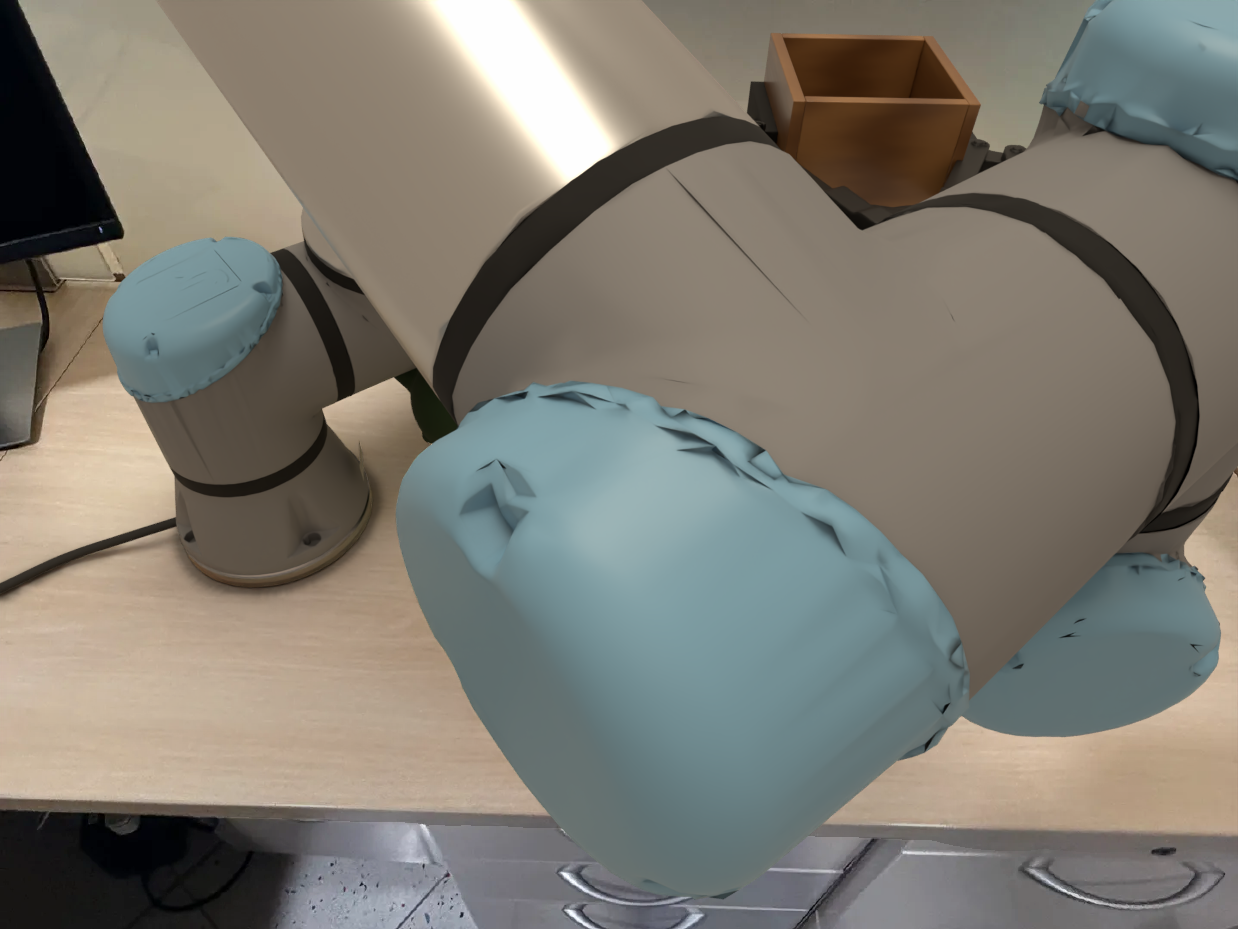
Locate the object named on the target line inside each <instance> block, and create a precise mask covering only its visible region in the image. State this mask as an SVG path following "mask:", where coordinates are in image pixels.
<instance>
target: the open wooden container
mask: <svg viewBox="0 0 1238 929" xmlns="http://www.w3.org/2000/svg"><path fill="white" fill-rule="evenodd" d="M765 63H766V65H765V72H764V79H763V82H764V85H765V88H766V91H767V95H768V98H769V102H770V105H771V109H772V112H773V116H774V119H775V123H776V126H777V129H778V136H777V143H776V145H777V146H778V147H779V148H780V149H781V150H782V151H784V152H786V153H788V154H790V155H791V156H792V158H793V159H794V160H795V161H796V162H797V163H799V164H800V165H801V166H803V167H804V168H806V169H807V170H808V171H810V172H811V173H812V174H814V175H815V176H816V177H818V178H819V179H820V180H822V181H823V182H825V183H826V184H827V185H829V186H830V187H831V188H837V187H840V186H845V187H847V188H849V189H850V190H851V191H853V192H854V193H855V194H857V195H858V196H860V197H861V198H862V199H864V200H865V201H867V202H868V203H869V204H871V205H881V206H888V207H898V206H906V205H914V204H918V203H920V202H922V201H924V200H926V199H928V198H930V197H932V196H934V195H936V194H938V193H939V192H940V190H941V188H942V187H944V185H945V183H946V181H947V179H948V177H949V175H950V173H951V171H952V169H953V167H954V165H955V163H956V161H957V160H963V159H964V156H965V153H966V150H967V146H968V143H969V140H970V137H971V134H972V132H974V127H975V125H976V122H977V118H978V116H979V112H980V109H981V107H982V103H981V102H980V100H979V99H978V98H977V96H976V95H975V94H974V92H973V90H972V89H971V88H970V86H969V85H968V84H967V82H966V81H965V79H964V78H963V77H962V75H961V74H960V72H959V71H958V70H957V67H955V65H954V63H953V62H952V61H951V60H950V58H949V56H948V55H947V53H946V52H945V51H944V50H943V48H942V47H941V45H940V44H939V42H938V41H937V40H936V38H935V37H934V35H899V34H898V35H896V34H895V35H894V34H893V35H892V34H843V33H842V34H841V33H831V34H830V33H793V32H791V33H787V32H785V33H783V32H782V33H781V32H771V33H770V36H769V42H768V50H767V56H766V62H765Z"/></svg>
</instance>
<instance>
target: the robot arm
mask: <svg viewBox="0 0 1238 929" xmlns="http://www.w3.org/2000/svg"><path fill="white" fill-rule="evenodd" d="M155 2H156V3H157V4H158V6H159V7H160V9H161V10H162V11H163V13H164V14H165V15H166V17H167V18H168V20H169V21H170V23H171V24H172V26H173V27H174V28H175V29H176V31H177V32H178V34H179V35H180V37H181V38H182V39H183V41H184V42H185V44H186V45H187V47H188V48H189V49H190V51H191V52H192V53H193V55H194V56H195V57H196V59H197V61H198V62H199V63H200V65H201V66H202V68H203V69H204V71H205V72H206V73H207V74H208V76H209V78H210V79H211V80H212V81H213V83H214V84H215V86H216V87H217V89H218V91H220V93H221V95H223V97H224V99H226V101H227V103H228V104H229V106H230V107H231V108H232V110H233V111H234V113H235V114H236V115H237V117H238V119H239V120H240V121H241V122H242V124H243V125H244V126H245V128H246V129H247V131H248V132H249V134H250V135H251V136H252V138H253V140H254V141H255V142H256V144H257V145H258V146H259V148H260V149H261V151H262V152H263V154H265V156H266V157H267V159H268V160H269V162H270V164H272V166H273V167H274V169H275V171H277V174H279V176H280V177H281V179H282V180H283V181H284V183H285V184H286V186H287V187H288V189H289V190H290V192H291V193H292V194H293V195H294V197H295V199H296V200H297V201H298V202H299V204H300V205H301V207H302V209H301V215H300V224H301V225H300V226H301V232H302V239H303V241H300V242H297V243H294V244H292V245H289V246H285V247H283V248H280V249H278V250H275V251H272V252H269V250H267V249H266V248H265V247H264V246H263V245H261V244H259V243H258V242H256V241H253V240H251V239H248V238H244V237H237V236H224V237H223V238H222V239H220V240H216V239H215V238H214V237H205V238H199V239H195V240H190V241H187V242H184V243H181V244H177V245H176V246H173V247H170V248H168V249H166V250H163V251H162V252H160V253H158V254H156V255H153V256H151V258H149V259H147V260H145V261H144V262H142V263H141V264H140V265H138V266H137V267H136V268H134V269H133V270H132V271H131V272H130V273H129V274H127V276H126V277H125V278H124V279H123V280H121V281H120V283H119V284H118V286H117V289H116V291H115V292H113V294H111V296H110V297H109V299H108V301H107V302H106V305H105V308H104V311H103V317H102V333H103V338H104V342H105V344H106V346H107V348H108V350H109V354H110V355H111V357H112V359H113V361H114V362H113V363H114V364H115V366H116V373H117V377H118V380H119V382H120V384H121V386H122V387H123V389H124V390H125V391H126V393H127V394H128V395H129V396H130V397H133V399H134V401H135V402H136V404H137V407H138V408H139V410H140V413H141V415H142V416H143V418H144V421H145V422H146V424H147V426H148V428H149V430H150V432H151V435H152V436H153V438H154V440H155V441H156V444H157V446H158V448H159V450H160V452H161V454H162V456H163V458H164V459H165V461H166V463H167V465H168V467H169V469H170V471H171V473H172V475H173V477H174V502H175V503H174V505H175V516H174V517H171V518H168V519H165V520H161V521H158V522H155V523H152V524H149V525H146V526H142V527H139V528H137V529H136V528H135V529H133V530H130V531H127V532H123V533H120V534H118V535H115V536H111V537H108V538H105V539H102V540H99V541H95V542H93V543H89V544H87V545H83V546H80V547H77V548H74V549H72V550H70V551H68V552H64V553H62V554H60V555H57V556H54V557H53V558H49V559H48V560H46V561H43V562H40V563H39V564H37V565H34V566H33V567H31V568H28V569H26V570H24V571H23V572H20V573H18V574H16V575H14V576H12V577H10V578H8V579H5V580H4V581H1V582H0V595H1V594H4V593H5V592H8V591H10V590H12V589H14V588H16V587H18V586H20V585H22V584H24V583H26V582H28V581H30V580H33V579H34V578H36V577H39V576H41V575H42V574H45V573H46V572H49V571H51V570H53V569H56V568H58V567H60V566H62V565H65V564H67V563H70V562H72V561H75V560H77V559H80V558H83V557H86V556H89V555H92V554H94V553H98V552H101V551H104V550H107V549H110V548H115V547H117V546H120V545H124V544H126V543H129V542H133V541H136V540H139V539H142V538H145V537H147V536H152V535H154V534H155V535H156V534H158V533H161V532H165V531H167V530H170V529H173V528H176V530H177V534H178V539H179V541H180V544H181V545H182V547H183V550H184V551H185V553H186V554H187V556H188V558H189V560H190V561H191V562H192V564H193V565H194V566H195V567H196V568H197V570H199V571H200V572H201V573H203V574H204V575H206V576H207V577H209V578H211V579H213V580H215V581H218V582H220V583H224V584H227V585H231V586H237V587H244V588H245V587H246V588H262V587H263V588H264V587H272V586H277V585H283V584H287V583H291V582H294V581H297V580H300V579H303V578H306V577H309V576H310V575H312V574H315V573H318V572H319V571H321V570H322V569H324V568H326V567H327V566H329V565H331V564H332V563H334V562H335V561H336V560H338V559H339V558H340V557H342V556H343V555H344V554H345V553H346V552H347V551H348V550H349V549H351V547H352V546H353V545H354V544H355V543H356V542H357V541H358V539H359V538H360V537H361V535H362V534H363V532H364V530H365V528H366V527H367V524H368V522H369V519H370V517H371V513H372V510H373V508H372V507H373V492H372V488H371V485H370V482H369V481H370V480H369V477H368V474H367V472H366V469H365V468H364V452H363V448H362V445H361V444H362V443H361V441H360V440H358V453H359V455H358V456H356V455H355V453H354V452H353V451H351V450H350V449H349V448H348V447H347V445H346V444H345V443H344V442H343V440H342V439H341V438H340V437H339V436H338V434H337V433H336V432H335V430H333V429H332V427H331V426H329V424H328V423H327V420H326V419H327V418H326V417H325V413H324V411H323V409H326V408H327V407H329V406H331V405H334V404H336V403H338V402H340V401H342V400H345V399H347V398H349V397H352V396H354V395H356V394H359V393H360V392H363V391H365V390H367V389H370V388H373V387H375V386H376V385H379V384H382V383H384V382H387V381H388V380H392V379H395V378H394V377H396V376H398V375H401V374H403V373H405V372H408V371H410V370H413V369H415V368H417V369H418V370H419V372H420V373H421V374H422V376H423V377H424V379H425V380H426V381H427V383H428V384H429V386H430V387H431V388H432V390H433V391H434V393H435V394H436V396H437V397H438V398H439V400H440V401H441V403H442V404H443V405H444V407H445V408H446V410H447V411H448V413H449V414H450V416H451V417H452V418H453V420H454V421H455V423H456V424H457V426H458V428H457V430H455V431H453V432H451V433H450V434H448V435H446V436H444V437H442V438H440V439H439V440H437V441H435V442H434V443H430V445H428V446H427V447H426V448H425V449H424V450H423V451H422V452H420V453H419V454H418V455H417V456H416V457H415V459H414V460H413V461H412V463H411V464H410V466H409V467H408V469H407V471H406V472H405V474H404V475H403V477H402V480H401V482H400V486H399V490H398V493H397V494H398V495H397V500H396V505H395V526H396V533H397V540H398V545H399V549H400V553H401V557H402V561H403V563H404V566H405V570H406V574H407V576H408V579H409V582H410V585H411V587H412V590H413V593H414V595H415V598H416V600H417V602H418V605H419V608H420V610H421V612H422V614H423V616H424V618H425V620H426V623H427V625H428V627H429V630H430V631H431V634H432V635H433V637H434V639H435V640H436V641H437V643H438V644H439V646H440V647H441V649H443V651H444V653H445V654H446V656H447V657H448V660H449V661H450V663H451V664H452V667H453V669H454V671H455V673H456V675H457V677H458V679H459V682H460V685H461V689H462V690H463V692H464V694H465V696H466V698H467V699H468V702H469V703H470V706H471V707H472V710H473V711H474V712H475V714H476V715H477V717H478V718H479V720H480V722H481V723H482V725H483V727H484V728H485V729H486V731H487V732H488V734H489V735H490V737H491V739H492V740H493V742H494V743H495V744H496V746H497V747H498V749H499V750H500V752H501V753H502V755H503V756H504V757H505V759H506V760H507V762H508V763H509V764H510V766H511V768H512V769H513V771H514V772H515V774H516V775H517V777H518V778H519V779H520V781H521V782H522V783H523V784H524V785H525V787H526V788H527V789H528V790H529V792H530V793H531V794H532V796H533V797H534V798H535V799H536V800H537V802H538V803H539V805H540V806H541V807H542V808H543V809H544V810H545V811H546V813H547V814H548V815H549V816H550V817H551V818H552V820H553V821H554V822H555V823H556V824H557V826H559V828H561V830H562V831H563V832H564V833H565V834H566V835H567V836H568V838H570V840H572V841H573V842H574V843H575V844H576V845H577V846H578V847H579V848H580V849H581V850H582V851H583V852H584V853H586V854H587V855H588V856H589V857H591V858H592V859H593V860H594V861H595V862H597V863H598V864H599V865H600V866H602V868H604V869H605V870H607V871H608V872H609V873H610V874H612V875H613V876H616V877H617V878H619V879H620V880H623V881H624V882H626V883H628V884H630V885H631V886H633V887H635V888H638V889H640V890H641V891H645V892H648V893H650V894H653V895H660V896H666V897H667V896H669V897H679V898H691V899H693V901H696V900H697V901H698V900H702V899H707V898H710V899H717V900H726V899H727V898H728V897H730V896H732V895H734V894H735V893H736V892H738V891H740V890H741V889H743V888H745V887H746V886H749V885H750V884H751V883H753V882H754V881H756V880H757V879H758V878H760V877H762V876H763V875H764V874H765V873H766V872H767V871H769V870H770V869H771V868H772V867H774V866H775V865H776V864H777V863H778V862H779V861H781V860H782V859H783V858H784V857H785V856H786V855H788V854H789V853H791V851H792V850H794V849H795V848H796V847H797V846H798V845H799V844H800V843H802V842H803V841H804V840H805V839H806V838H808V837H809V836H810V835H811V834H812V833H814V832H815V831H816V830H818V828H820V827H821V826H822V825H824V823H825V822H826V821H828V820H829V819H830V818H831V817H833V816H834V815H835V814H836V813H837V812H838V811H840V810H841V809H842V808H843V807H844V806H846V805H847V804H848V803H849V802H851V800H854V798H855V797H856V796H857V795H859V794H860V793H861V792H862V791H864V789H866V788H867V787H868V786H869V785H870V784H872V783H873V782H875V780H876V779H877V778H879V777H880V776H881V775H883V773H884V772H886V771H887V770H888V769H889V768H891V767H892V766H893V765H894V764H895V763H896V762H899V761H903V760H908V759H911V758H915V757H918V756H920V755H923V754H925V753H927V752H928V751H930V750H932V749H933V748H934V747H936V746H938V745H939V743H940V742H941V741H942V738H943V737H944V735H945V734H946V732H947V731H948V729H949V728H950V727H952V726H954V724H955V723H956V722H957V721H958V720H959V719H960V718H961V717H962V718H963V719H965V720H967V721H969V722H971V724H974V725H976V726H979V727H981V728H983V729H986V730H989V731H993V732H996V733H999V734H1005V735H1009V736H1014V737H1027V738H1028V737H1029V738H1071V737H1080V736H1086V735H1091V734H1092V735H1093V734H1096V733H1101V732H1106V731H1110V730H1111V731H1112V730H1114V729H1119V728H1123V727H1126V726H1130V725H1132V724H1136V723H1138V722H1141V721H1144V720H1147V719H1149V718H1151V717H1154V716H1157V715H1159V714H1160V713H1163V712H1164V711H1166V710H1168V709H1170V708H1172V707H1174V706H1175V705H1177V704H1179V703H1181V702H1183V701H1184V700H1186V699H1187V698H1188V697H1190V696H1191V695H1193V693H1195V692H1196V691H1197V690H1198V689H1200V688H1201V687H1202V686H1203V685H1204V684H1205V683H1206V682H1207V681H1208V679H1210V677H1211V675H1212V674H1213V672H1214V671H1215V669H1216V668H1217V667H1218V664H1219V659H1220V658H1219V657H1220V654H1219V651H1220V646H1221V638H1222V629H1221V622H1220V621H1219V619H1218V617H1217V615H1216V613H1215V610H1214V608H1213V606H1212V604H1211V602H1210V600H1209V598H1208V596H1207V594H1206V589H1207V585H1206V583H1205V582H1204V581H1205V580H1206V577H1205V576H1204V575H1203V574H1202V573H1201V572H1200V571H1199V568H1198V566H1196V565H1192V564H1191V563H1190V562H1189V561H1188V559H1187V557H1186V555H1185V545H1186V542H1187V541H1188V539H1189V538H1190V537H1191V535H1192V534H1194V532H1195V530H1196V529H1198V527H1199V526H1200V525H1201V524H1202V522H1203V521H1204V520H1205V518H1206V517H1207V516H1208V514H1210V513H1211V511H1212V510H1213V509H1214V507H1215V505H1216V504H1217V502H1218V500H1219V498H1220V496H1221V495H1222V493H1223V492H1224V491H1225V489H1226V487H1227V486H1228V484H1229V483H1230V481H1231V478H1232V477H1233V474H1234V472H1235V471H1236V469H1237V468H1238V0H1094V2H1093V3H1092V4H1091V5H1090V6H1089V7H1088V8H1087V10H1086V12H1085V13H1084V16H1083V18H1082V21H1081V23H1080V25H1079V28H1078V30H1077V32H1076V33H1075V36H1074V38H1073V40H1072V42H1071V44H1070V47H1069V49H1068V50H1067V51H1066V52H1067V53H1066V54H1065V56H1064V59H1063V61H1062V63H1061V64H1060V67H1059V69H1058V71H1057V73H1056V75H1055V76H1054V79H1052V80H1051V81H1049V82H1048V83H1047V84H1046V85H1045V87H1044V89H1043V92H1042V95H1041V98H1040V100H1039V101H1038V104H1039V105H1043V107H1042V110H1041V114H1040V117H1039V121H1038V124H1037V126H1036V129H1035V132H1034V135H1033V138H1032V139H1031V141H1030V143H1029V145H1028V146H1027V147H1025V146H1023V145H1020V144H1007V145H1005V147H1004V149H1003V151H1002V152H1001V151H996V150H991V149H990V147H991V144H990V143H989V142H988V141H986V140H983V139H981V138H977V136H976V135H975V133H974V131H972V134H971V137H970V140H969V143H968V146H967V150H966V153H965V156H964V159H963V160H957V161H956V163H955V165H954V167H953V169H952V171H951V173H950V175H949V177H948V179H947V181H946V183H945V185H944V187H942V188H941V190H940V192H939V193H938V194H936V195H934V196H932V197H930V198H928V199H926V200H924V201H922V202H920V203H918V204H914V205H906V206H898V207H888V206H881V205H871V204H869V203H868V202H867V201H865V200H864V199H862V198H861V197H860V196H858V195H857V194H855V193H854V192H853V191H851V190H850V189H849V188H847V187H845V186H840V187H837V188H831V187H830V186H829V185H827V184H826V183H825V182H823V181H822V180H820V179H819V178H818V177H816V176H815V175H814V174H812V173H811V172H810V171H808V170H807V169H806V168H804V167H803V166H801V165H800V164H799V163H797V162H796V161H795V160H794V159H793V158H792V156H791V155H790V154H788V153H786V152H784V151H782V150H781V149H780V148H779V147H778V146H777V145H776V143H777V136H778V129H777V126H776V123H775V119H774V116H773V112H772V109H771V105H770V102H769V98H768V95H767V91H766V88H765V85H764V81H753V80H752V81H750V84H749V93H748V99H747V100H748V101H747V107H746V108H747V109H746V110H745V109H744V108H743V107H742V106H741V105H740V103H738V102H737V101H736V99H734V97H733V96H732V95H731V94H730V93H729V92H728V91H727V90H726V89H725V88H724V87H723V86H722V85H721V84H720V83H719V81H718V80H717V79H716V78H715V77H714V76H713V75H712V74H711V72H709V70H708V69H707V68H706V67H705V66H704V65H703V64H702V63H701V62H700V61H699V60H698V59H697V58H696V57H695V56H694V54H692V52H690V50H689V49H688V48H687V47H686V46H685V45H684V44H683V42H681V41H680V40H679V38H678V37H676V36H675V34H674V33H673V32H672V30H670V29H669V28H668V27H667V26H666V25H665V23H663V22H662V20H661V19H660V18H659V17H658V16H657V15H656V14H655V13H654V12H653V11H652V10H651V9H650V8H649V6H648V5H647V4H646V3H645V2H644V1H643V0H155Z"/></svg>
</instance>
